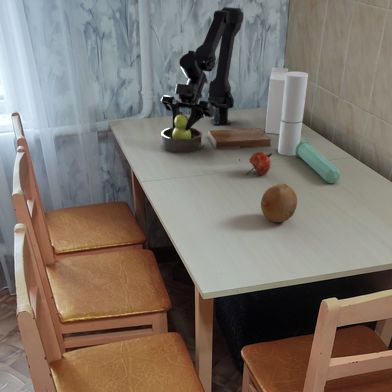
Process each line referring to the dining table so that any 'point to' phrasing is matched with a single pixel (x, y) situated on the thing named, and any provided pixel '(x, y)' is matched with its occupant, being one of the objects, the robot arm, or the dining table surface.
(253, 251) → the dining table surface
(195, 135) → the bowl
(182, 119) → the pear
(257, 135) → the board
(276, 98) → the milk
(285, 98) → the cylindrical container
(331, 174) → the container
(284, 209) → the onion
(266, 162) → the red rounded lumpy piece
